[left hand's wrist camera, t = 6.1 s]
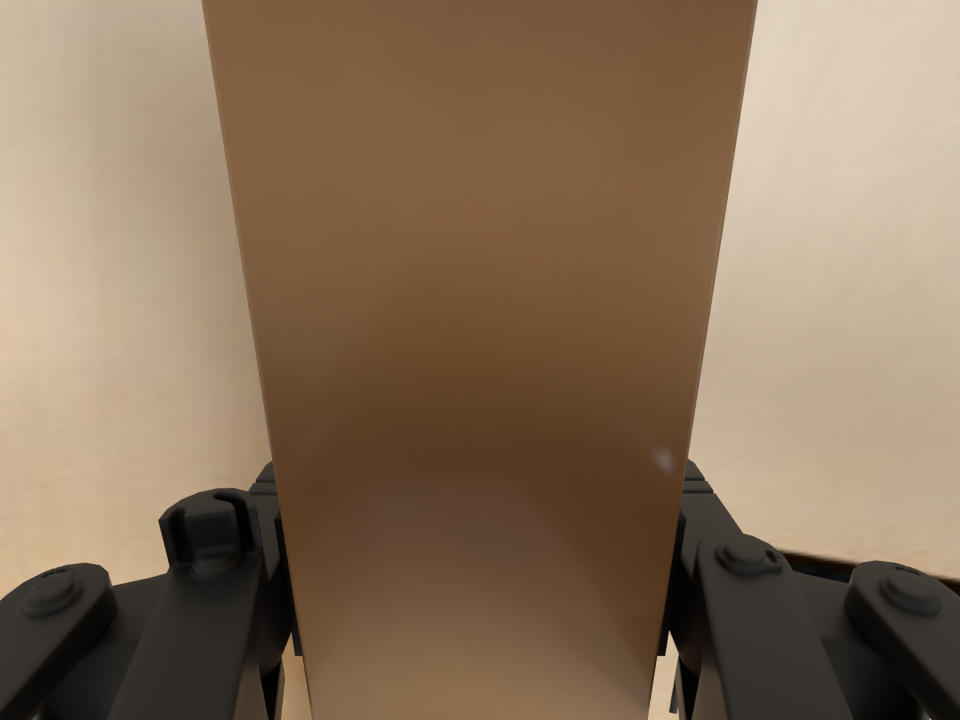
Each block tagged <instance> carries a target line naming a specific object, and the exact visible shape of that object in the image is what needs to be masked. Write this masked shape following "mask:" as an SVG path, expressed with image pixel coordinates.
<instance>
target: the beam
mask: <svg viewBox="0 0 960 720" xmlns="http://www.w3.org/2000/svg"><path fill="white" fill-rule="evenodd" d="M757 3H758V0H202V5H203V12H204V18H205V25H206V31H207V38H208V44H209V51H210V57H211V64H212V70H213V77H214V83H215V90H216V96H217V103H218V109H219V116H220V122H221V129H222V135H223V142H224V148H225V155H226V161H227V168H228V174H229V181H230V187H231V194H232V200H233V207H234V213H235V220H236V226H237V233H238V239H239V246H240V252H241V259H242V265H243V272H244V278H245V285H246V291H247V298H248V304H249V311H250V317H251V324H252V330H253V337H254V343H255V350H256V357H257V363H258V370H259V376H260V383H261V389H262V396H263V402H264V409H265V415H266V422H267V428H268V435H269V441H270V448H271V454H272V461H273V467H274V474H275V480H276V487H277V493H278V500H279V506H280V513H281V519H282V526H283V532H284V539H285V545H286V552H287V558H288V565H289V571H290V578H291V584H292V591H293V597H294V604H295V610H296V617H297V623H298V630H299V636H300V643H301V649H302V656H303V662H304V669H305V675H306V682H307V688H308V695H309V701H310V708H311V714H312V720H647V719H648V713H649V706H650V700H651V693H652V687H653V680H654V674H655V667H656V661H657V654H658V648H659V641H660V635H661V628H662V622H663V615H664V608H665V602H666V595H667V589H668V582H669V576H670V569H671V563H672V556H673V550H674V543H675V537H676V530H677V524H678V517H679V511H680V504H681V498H682V491H683V485H684V478H685V472H686V465H687V459H688V452H689V446H690V439H691V433H692V426H693V420H694V413H695V407H696V400H697V394H698V387H699V381H700V374H701V368H702V361H703V355H704V348H705V342H706V335H707V329H708V322H709V316H710V309H711V303H712V296H713V290H714V283H715V277H716V270H717V264H718V257H719V251H720V244H721V238H722V231H723V224H724V218H725V211H726V205H727V198H728V192H729V185H730V179H731V172H732V166H733V159H734V153H735V146H736V140H737V133H738V127H739V120H740V114H741V107H742V101H743V94H744V88H745V81H746V75H747V68H748V62H749V55H750V49H751V42H752V36H753V29H754V23H755V16H756V10H757Z"/></svg>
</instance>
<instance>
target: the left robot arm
mask: <svg viewBox="0 0 960 720" xmlns="http://www.w3.org/2000/svg"><path fill="white" fill-rule="evenodd" d="M158 521H159V525H160V529H161V533H162V537H163V541H164V545H165V549H166V553H167V558H168V562H169V566H170V567H169V569H168V572H167V573H166V574H162V575H159V576H155V577H151V578H147V579H142V580H138V581H133V582H128V583H124V584H119V585H115V586H112V584H111V581H110V577H109V574H108V572H107V571H106V570H105V569H104V568H103V567H101V566H100V565H96V564H90V563H79V564H71V565H65V566H62V567H57V568H55V569H51V570H48V571H46V572H43V573H41V574H39V575H37V576H35V577H33V578H31V579H29V580H27V581H25V582H24V583H22V584H21V585H19V586H18V587H17V588H15V589H14V590H13V591H11V592H10V593H9V594H7V595H6V596H5V597H4V598H3V599H2V600H1V601H0V720H281V713H282V703H283V693H284V684H285V675H284V668H283V662H282V654H283V652H284V649H285V646H286V644H287V641H288V639H289V636H290V634H291V632H292V639H293V645H294V651H295V656H302V649H301V643H300V636H299V630H298V623H297V617H296V610H295V604H294V597H293V591H292V584H291V578H290V571H289V565H288V558H287V552H286V545H285V539H284V532H283V526H282V519H281V513H280V506H279V500H278V493H277V487H276V480H275V474H274V467H273V461H271V462H270V463H268V464H267V465H266V466H265V467H264V469H263V470H262V472H261V473H260V475H259V476H258V478H257V479H256V483H253V485H252V486H251V488H250V489H249V491H248V492H247V491H243V490H239V489H235V488H217V489H213V490H208V491H203V492H199V493H196V494H194V495H192V496H189V497H187V498H184V499H182V500H180V501H179V502H177V503H176V504H174V505H173V506H171V507H170V508H168V509H167V510H166V511H165V513H164V514H163V515H162V516H161V517H160V519H159V520H158ZM669 630H670V633H671V635H672V638H673V640H674V643H675V645H676V648H677V650H678V653H679V656H678V662H677V668H676V674H675V679H674V685H673V691H672V697H671V704H670V710H669V712H670V713H675V714H677V708H678V711H679V720H930V719H931V720H960V597H959V596H958V595H957V594H956V593H955V592H953V591H952V590H951V589H949V588H948V587H946V586H945V585H944V584H942V583H941V582H940V581H938V580H937V579H935V578H933V577H931V576H929V575H927V574H925V573H923V572H921V571H919V570H917V569H914V568H911V567H908V566H905V565H901V564H897V563H893V562H885V561H870V562H863V563H861V564H859V565H858V566H857V567H856V568H855V569H853V572H852V575H851V579H850V582H849V584H847V583H843V582H838V581H833V580H829V579H824V578H820V577H815V576H810V575H806V574H803V573H799V572H796V571H793V570H792V568H791V566H790V564H789V563H788V562H787V560H786V559H785V557H784V556H783V554H781V553H780V552H779V551H778V550H776V549H775V548H774V547H772V546H771V545H770V544H768V543H766V542H764V541H762V540H760V539H758V538H756V537H753V536H751V535H747V534H743V533H742V531H741V530H740V528H739V527H738V525H737V524H736V523H735V521H734V520H733V518H732V517H731V515H730V514H729V512H728V511H727V510H726V508H725V507H724V505H723V504H722V502H721V501H720V499H719V498H718V497H717V495H716V494H714V493H713V489H712V488H711V486H710V485H709V484H708V482H707V481H705V478H704V476H703V475H702V473H701V472H700V471H699V469H698V468H697V466H696V465H695V463H693V462H692V461H691V460H689V459H687V465H686V472H685V478H684V485H683V491H682V498H681V504H680V511H679V517H678V524H677V530H676V537H675V543H674V550H673V556H672V563H671V569H670V576H669V582H668V589H667V595H666V602H665V608H664V615H663V622H662V628H661V635H660V641H659V648H658V654H657V656H665V653H666V647H667V641H668V634H669Z"/></svg>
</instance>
